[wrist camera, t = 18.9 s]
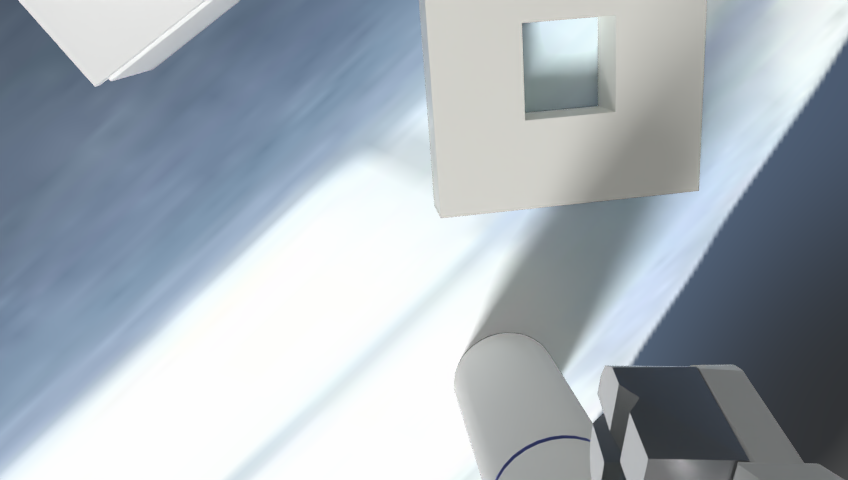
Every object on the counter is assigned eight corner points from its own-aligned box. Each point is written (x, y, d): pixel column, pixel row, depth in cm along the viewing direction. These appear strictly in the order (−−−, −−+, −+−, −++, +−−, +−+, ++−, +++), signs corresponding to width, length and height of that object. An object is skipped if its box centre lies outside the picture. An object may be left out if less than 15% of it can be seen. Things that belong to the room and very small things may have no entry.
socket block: (434, 205, 45) (440, 218, 42) (413, -68, 40) (419, -74, 37) (676, 180, 47) (698, 190, 44) (685, -87, 42) (711, -95, 39)
